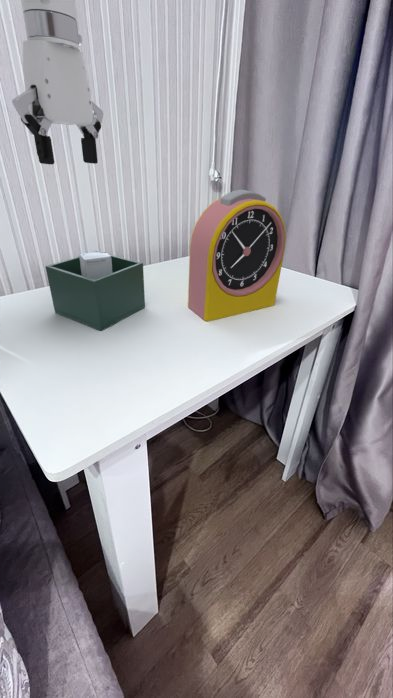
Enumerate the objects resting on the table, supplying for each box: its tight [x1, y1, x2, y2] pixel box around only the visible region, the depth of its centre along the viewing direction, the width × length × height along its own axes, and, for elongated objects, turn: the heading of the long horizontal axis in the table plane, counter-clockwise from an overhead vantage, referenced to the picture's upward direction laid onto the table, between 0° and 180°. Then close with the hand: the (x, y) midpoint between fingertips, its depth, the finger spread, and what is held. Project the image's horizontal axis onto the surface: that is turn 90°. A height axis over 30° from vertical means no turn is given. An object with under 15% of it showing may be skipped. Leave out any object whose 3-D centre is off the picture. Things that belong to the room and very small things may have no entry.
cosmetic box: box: [78, 251, 113, 280], centre depth 74 cm, size 6×4×12 cm
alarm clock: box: [187, 189, 287, 322], centre depth 76 cm, size 21×9×26 cm, turn 120°
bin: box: [45, 250, 146, 332], centre depth 75 cm, size 15×15×11 cm
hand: (70, 163), depth 60 cm, fingers open, 9 cm apart
